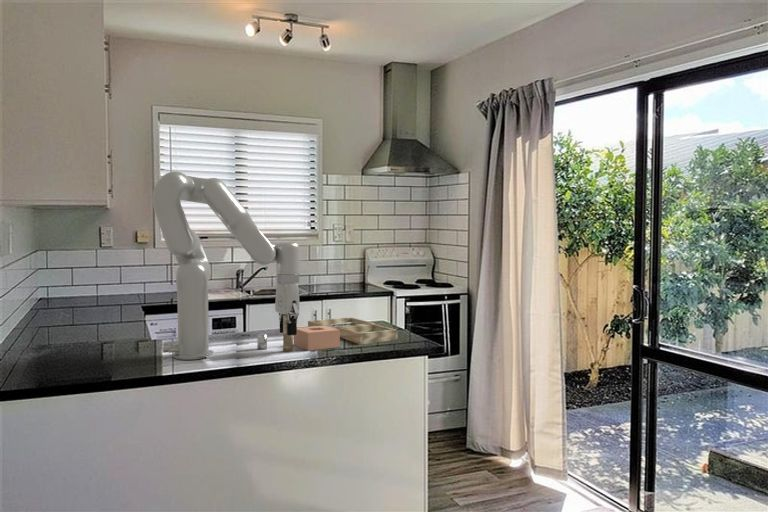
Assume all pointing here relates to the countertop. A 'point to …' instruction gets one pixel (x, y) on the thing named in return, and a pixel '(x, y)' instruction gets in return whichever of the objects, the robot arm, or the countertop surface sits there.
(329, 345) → the hole block
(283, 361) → the countertop surface
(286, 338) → the long pin
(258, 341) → the short pin
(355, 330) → the organiser frame
